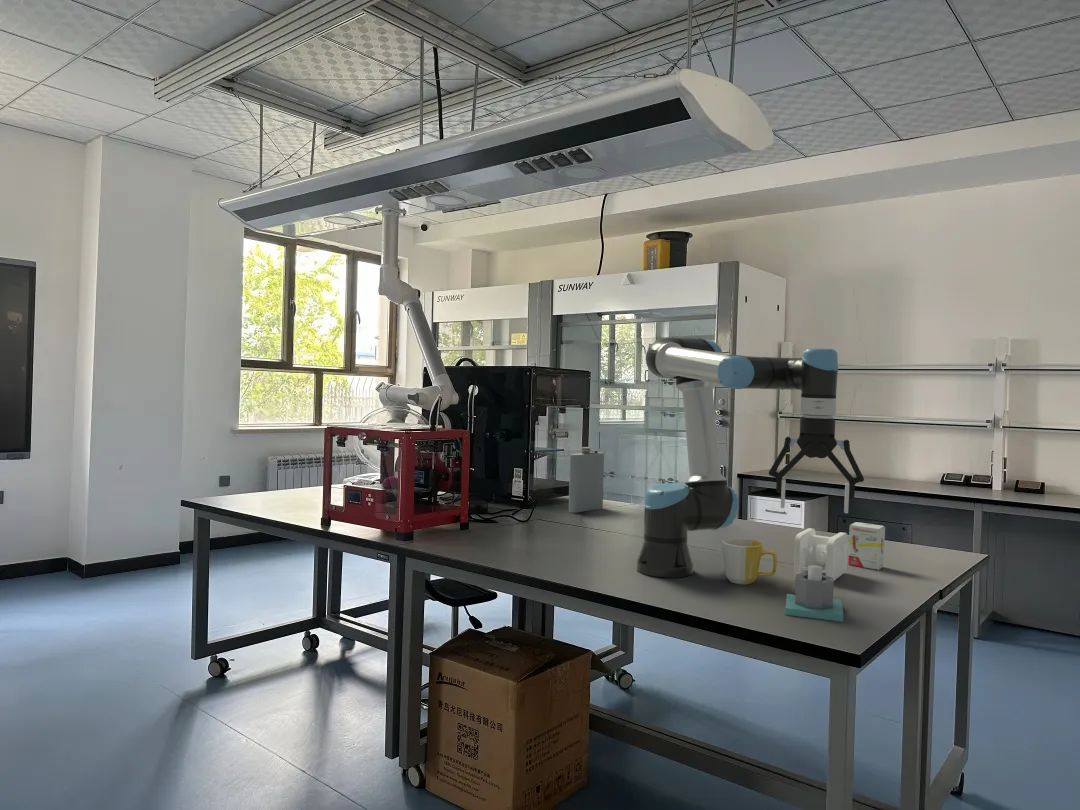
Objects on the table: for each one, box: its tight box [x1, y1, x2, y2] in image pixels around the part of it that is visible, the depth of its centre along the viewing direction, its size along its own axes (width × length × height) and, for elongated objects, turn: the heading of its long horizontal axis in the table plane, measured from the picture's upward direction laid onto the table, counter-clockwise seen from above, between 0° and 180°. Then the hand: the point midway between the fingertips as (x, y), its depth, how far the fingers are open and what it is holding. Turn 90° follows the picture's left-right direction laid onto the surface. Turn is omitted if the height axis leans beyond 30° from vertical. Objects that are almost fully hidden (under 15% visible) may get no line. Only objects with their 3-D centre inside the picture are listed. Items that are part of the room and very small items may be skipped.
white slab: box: [568, 446, 605, 514], centre depth 295 cm, size 17×5×25 cm, turn 132°
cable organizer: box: [793, 527, 849, 582], centre depth 200 cm, size 15×11×12 cm
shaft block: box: [784, 565, 844, 623], centre depth 169 cm, size 12×12×10 cm
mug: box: [721, 537, 778, 585], centre depth 191 cm, size 14×10×10 cm
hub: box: [794, 572, 835, 610], centre depth 169 cm, size 8×8×6 cm
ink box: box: [847, 521, 886, 570], centre depth 212 cm, size 9×5×12 cm, turn 49°
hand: (813, 509), depth 170 cm, fingers open, 13 cm apart
